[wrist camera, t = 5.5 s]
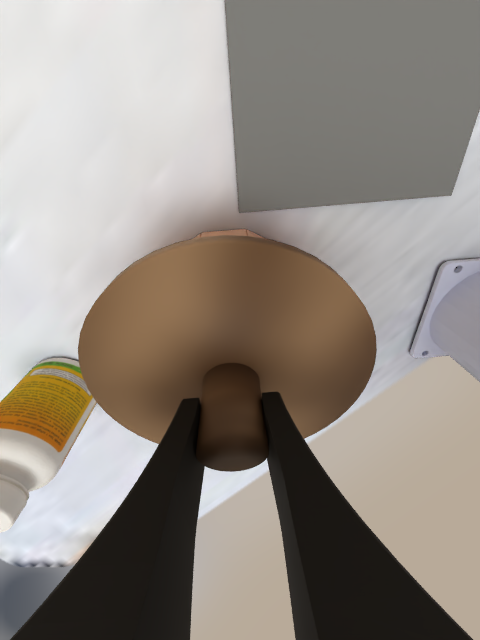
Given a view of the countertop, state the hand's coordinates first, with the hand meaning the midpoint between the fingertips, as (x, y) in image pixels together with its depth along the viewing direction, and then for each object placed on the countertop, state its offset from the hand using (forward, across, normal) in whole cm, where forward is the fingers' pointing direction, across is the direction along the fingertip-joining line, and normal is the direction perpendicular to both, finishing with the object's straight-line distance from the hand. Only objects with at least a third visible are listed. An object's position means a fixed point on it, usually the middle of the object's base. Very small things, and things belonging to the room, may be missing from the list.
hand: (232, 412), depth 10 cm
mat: (+9, -7, -12) cm, 17 cm away
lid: (+2, 0, 0) cm, 2 cm away
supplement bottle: (+10, +14, +6) cm, 18 cm away
